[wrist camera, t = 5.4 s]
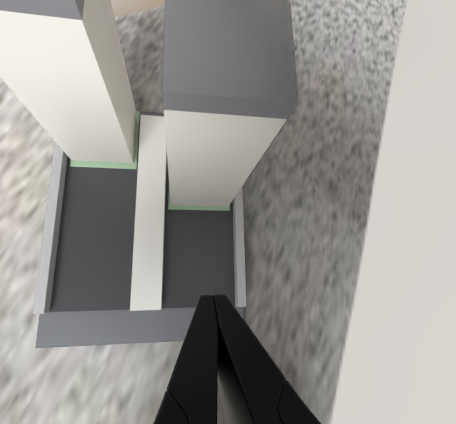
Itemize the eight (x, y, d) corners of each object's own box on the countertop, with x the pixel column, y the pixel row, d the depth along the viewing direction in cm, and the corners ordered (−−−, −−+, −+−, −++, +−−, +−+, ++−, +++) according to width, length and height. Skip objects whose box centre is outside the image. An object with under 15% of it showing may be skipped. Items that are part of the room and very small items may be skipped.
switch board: (241, 335, 18) (247, 340, 16) (40, 345, 16) (27, 351, 14) (236, 123, 21) (240, 111, 19) (68, 111, 19) (59, 97, 18)
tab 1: (133, 163, 18) (72, -7, 7) (71, 160, 17) (-91, -29, 7) (136, 111, 19) (85, -109, 8) (77, 107, 18) (-60, -136, 8)
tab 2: (228, 206, 18) (298, 103, 8) (170, 205, 18) (161, 91, 7) (227, 154, 19) (289, -5, 9) (172, 151, 19) (166, -23, 8)
